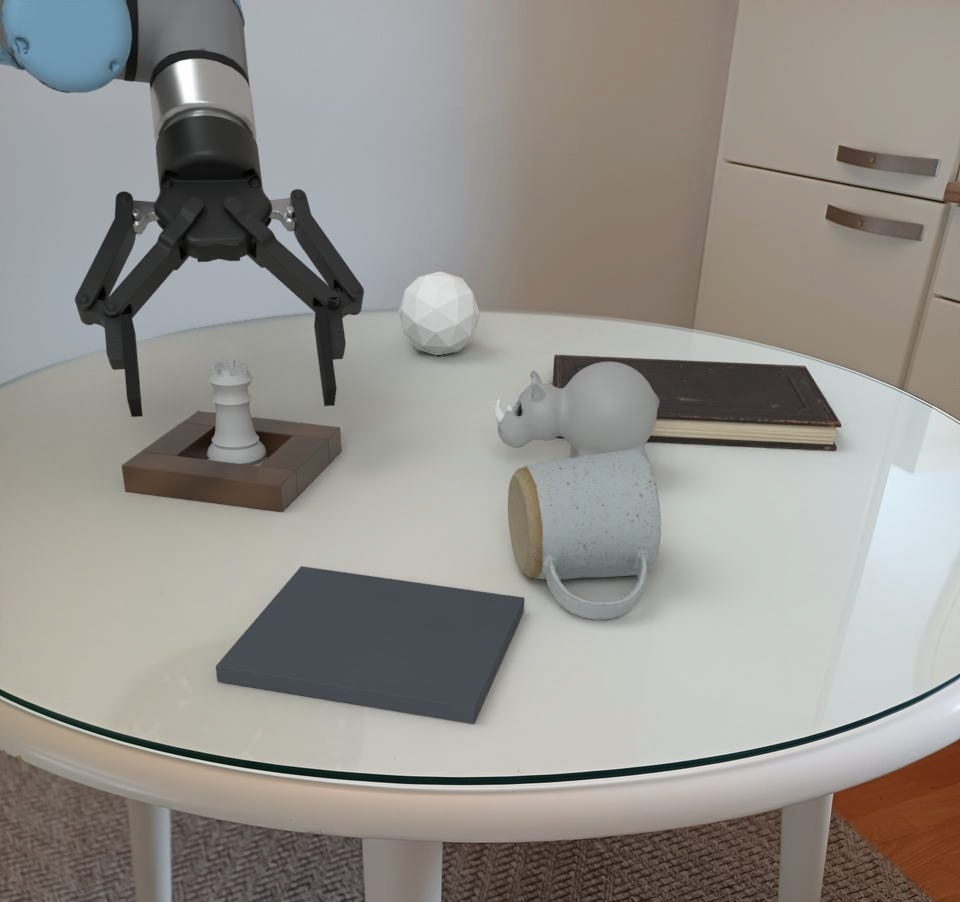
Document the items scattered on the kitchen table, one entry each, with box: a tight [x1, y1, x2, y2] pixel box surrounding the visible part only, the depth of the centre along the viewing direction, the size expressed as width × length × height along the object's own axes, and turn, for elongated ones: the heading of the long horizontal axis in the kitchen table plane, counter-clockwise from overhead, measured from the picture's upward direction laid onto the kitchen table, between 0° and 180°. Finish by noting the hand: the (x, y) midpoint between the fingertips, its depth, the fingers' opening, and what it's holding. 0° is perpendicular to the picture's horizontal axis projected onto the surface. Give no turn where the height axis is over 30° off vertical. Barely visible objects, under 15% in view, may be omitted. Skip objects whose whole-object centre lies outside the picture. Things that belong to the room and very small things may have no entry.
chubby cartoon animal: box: [493, 362, 659, 466], centre depth 83 cm, size 7×12×8 cm, turn 89°
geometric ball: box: [398, 270, 481, 356], centre depth 109 cm, size 8×8×8 cm
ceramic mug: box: [507, 449, 662, 621], centre depth 68 cm, size 11×8×8 cm
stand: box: [121, 410, 343, 513], centre depth 83 cm, size 12×12×2 cm
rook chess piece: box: [206, 359, 267, 466], centre depth 82 cm, size 4×4×8 cm
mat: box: [215, 565, 525, 724], centre depth 63 cm, size 14×12×1 cm
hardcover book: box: [552, 354, 842, 451], centre depth 97 cm, size 16×23×2 cm
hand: (234, 403), depth 80 cm, fingers open, 13 cm apart
